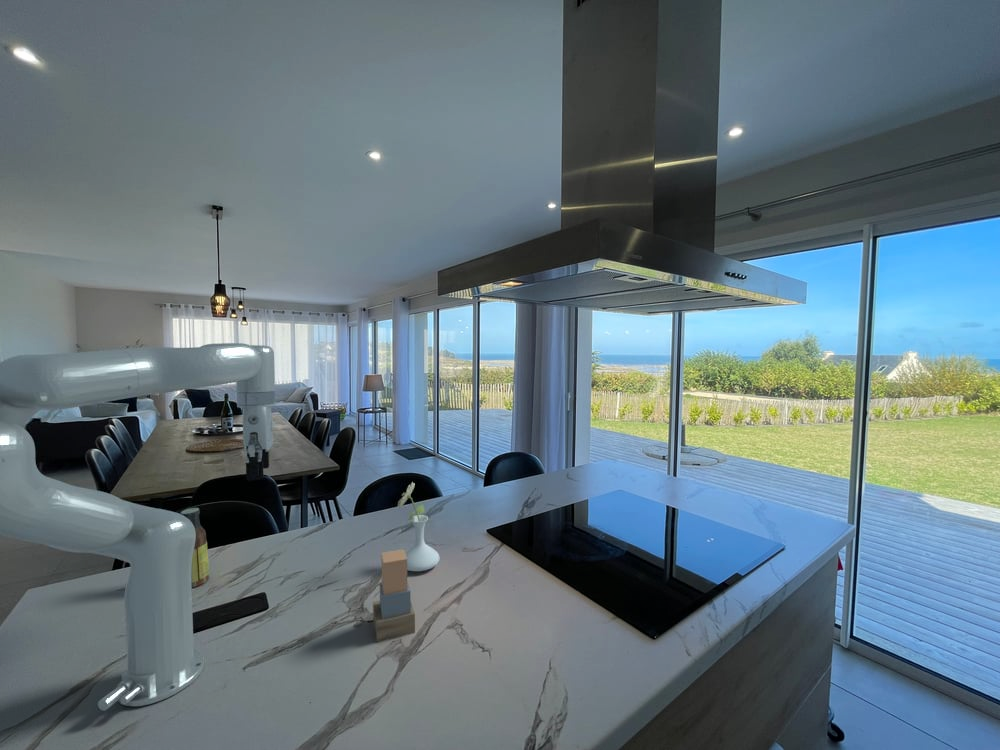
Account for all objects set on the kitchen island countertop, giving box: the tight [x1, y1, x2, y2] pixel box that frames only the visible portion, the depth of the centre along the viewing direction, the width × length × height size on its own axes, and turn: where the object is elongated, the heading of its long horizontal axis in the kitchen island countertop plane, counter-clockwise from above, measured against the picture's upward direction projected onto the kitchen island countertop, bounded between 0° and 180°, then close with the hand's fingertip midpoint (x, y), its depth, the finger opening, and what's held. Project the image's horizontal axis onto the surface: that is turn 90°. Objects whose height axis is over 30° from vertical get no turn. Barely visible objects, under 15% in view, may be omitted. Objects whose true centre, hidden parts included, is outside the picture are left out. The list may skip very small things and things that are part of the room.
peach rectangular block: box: [381, 549, 408, 595], centre depth 91 cm, size 5×5×7 cm
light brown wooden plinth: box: [372, 600, 416, 643], centre depth 92 cm, size 8×8×4 cm
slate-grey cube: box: [379, 580, 412, 619], centre depth 92 cm, size 6×6×5 cm
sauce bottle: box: [179, 507, 210, 588], centre depth 109 cm, size 6×6×20 cm
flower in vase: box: [397, 481, 441, 572], centre depth 118 cm, size 13×11×25 cm
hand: (258, 473), depth 95 cm, fingers open, 9 cm apart
